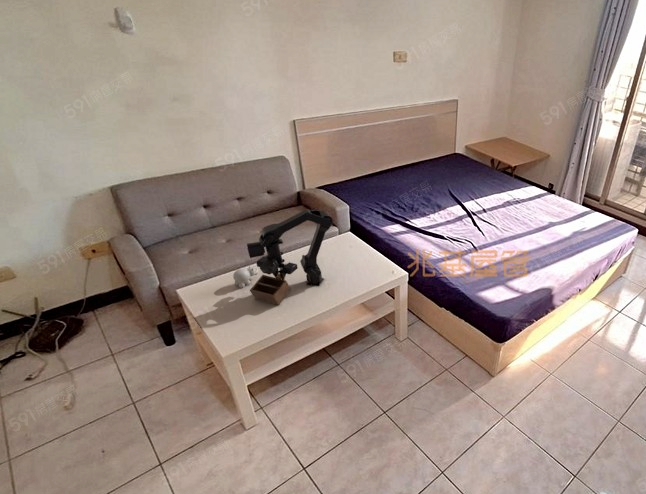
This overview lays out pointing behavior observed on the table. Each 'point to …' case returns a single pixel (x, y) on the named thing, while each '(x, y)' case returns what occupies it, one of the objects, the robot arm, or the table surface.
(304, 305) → the table surface
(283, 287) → the shelf
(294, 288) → the table surface
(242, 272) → the toy rhinoceros
